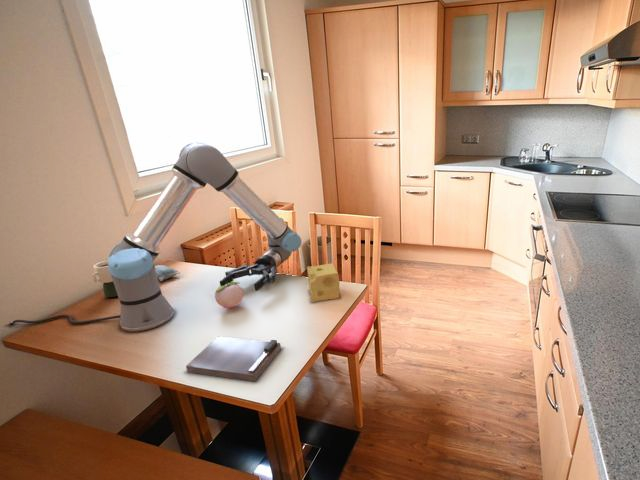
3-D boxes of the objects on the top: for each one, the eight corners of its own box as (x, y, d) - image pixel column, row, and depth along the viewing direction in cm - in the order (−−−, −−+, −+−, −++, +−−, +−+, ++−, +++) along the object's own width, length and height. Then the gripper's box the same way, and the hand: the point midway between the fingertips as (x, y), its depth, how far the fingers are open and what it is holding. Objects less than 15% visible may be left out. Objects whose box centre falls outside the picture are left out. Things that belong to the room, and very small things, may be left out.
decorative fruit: (231, 316, 126) (225, 289, 122) (213, 311, 130) (207, 285, 126) (251, 303, 134) (247, 278, 130) (234, 299, 137) (229, 274, 134)
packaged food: (167, 270, 164) (164, 260, 162) (181, 277, 157) (178, 266, 155) (146, 278, 157) (142, 267, 155) (160, 285, 151) (157, 274, 149)
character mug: (122, 287, 150) (112, 257, 145) (135, 290, 147) (125, 259, 142) (94, 300, 140) (83, 268, 135) (107, 303, 138) (96, 270, 133)
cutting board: (187, 372, 100) (184, 362, 99) (219, 341, 113) (217, 332, 112) (255, 381, 96) (253, 371, 95) (281, 348, 109) (279, 339, 107)
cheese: (311, 303, 133) (308, 277, 129) (308, 289, 143) (305, 265, 139) (340, 298, 136) (338, 273, 132) (336, 285, 145) (334, 261, 141)
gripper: (297, 273, 152) (271, 298, 133) (241, 269, 157) (209, 293, 138) (295, 256, 149) (268, 279, 130) (238, 252, 154) (205, 274, 135)
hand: (238, 286), depth 134 cm, fingers open, 13 cm apart
